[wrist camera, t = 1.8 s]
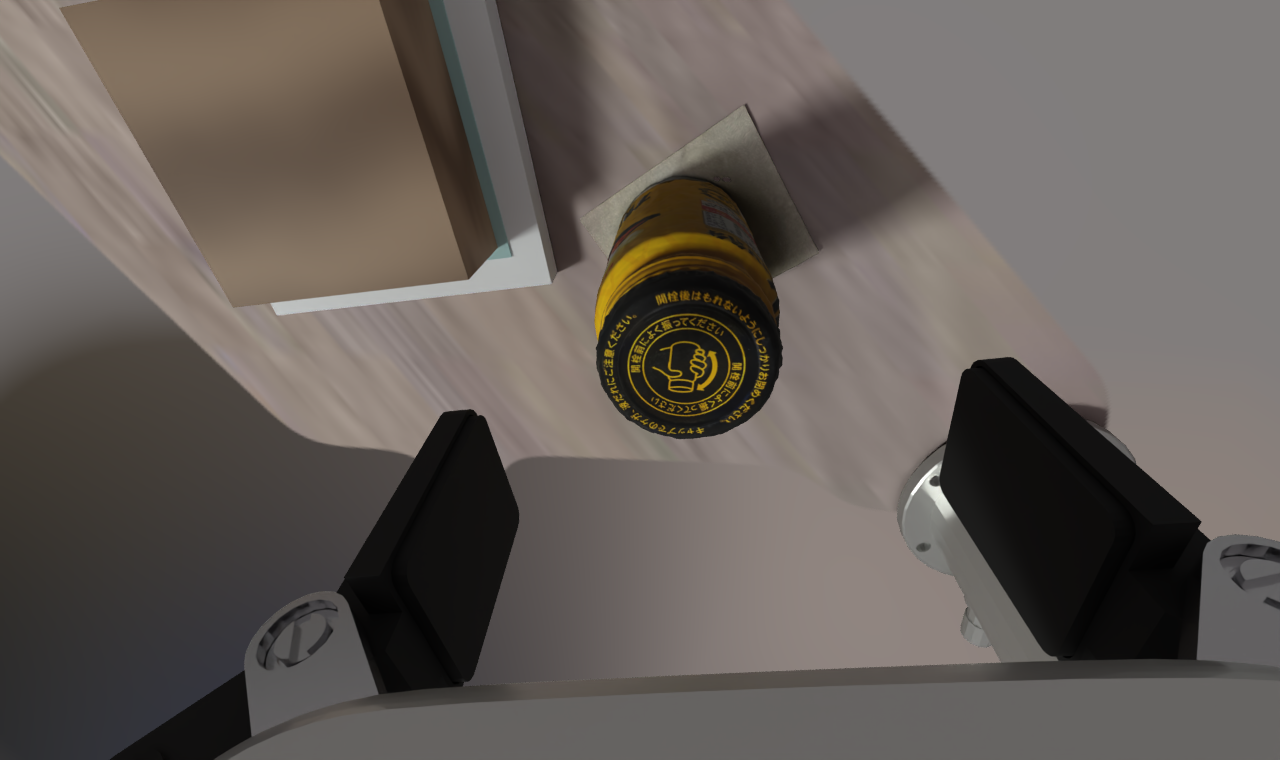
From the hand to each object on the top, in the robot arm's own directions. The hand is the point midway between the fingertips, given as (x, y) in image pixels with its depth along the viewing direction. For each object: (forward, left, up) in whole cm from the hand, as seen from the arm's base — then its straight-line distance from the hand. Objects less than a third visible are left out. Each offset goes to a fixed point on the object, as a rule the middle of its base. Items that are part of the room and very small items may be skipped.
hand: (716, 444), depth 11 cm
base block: (+6, +14, -14) cm, 21 cm away
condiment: (0, 0, -16) cm, 16 cm away
